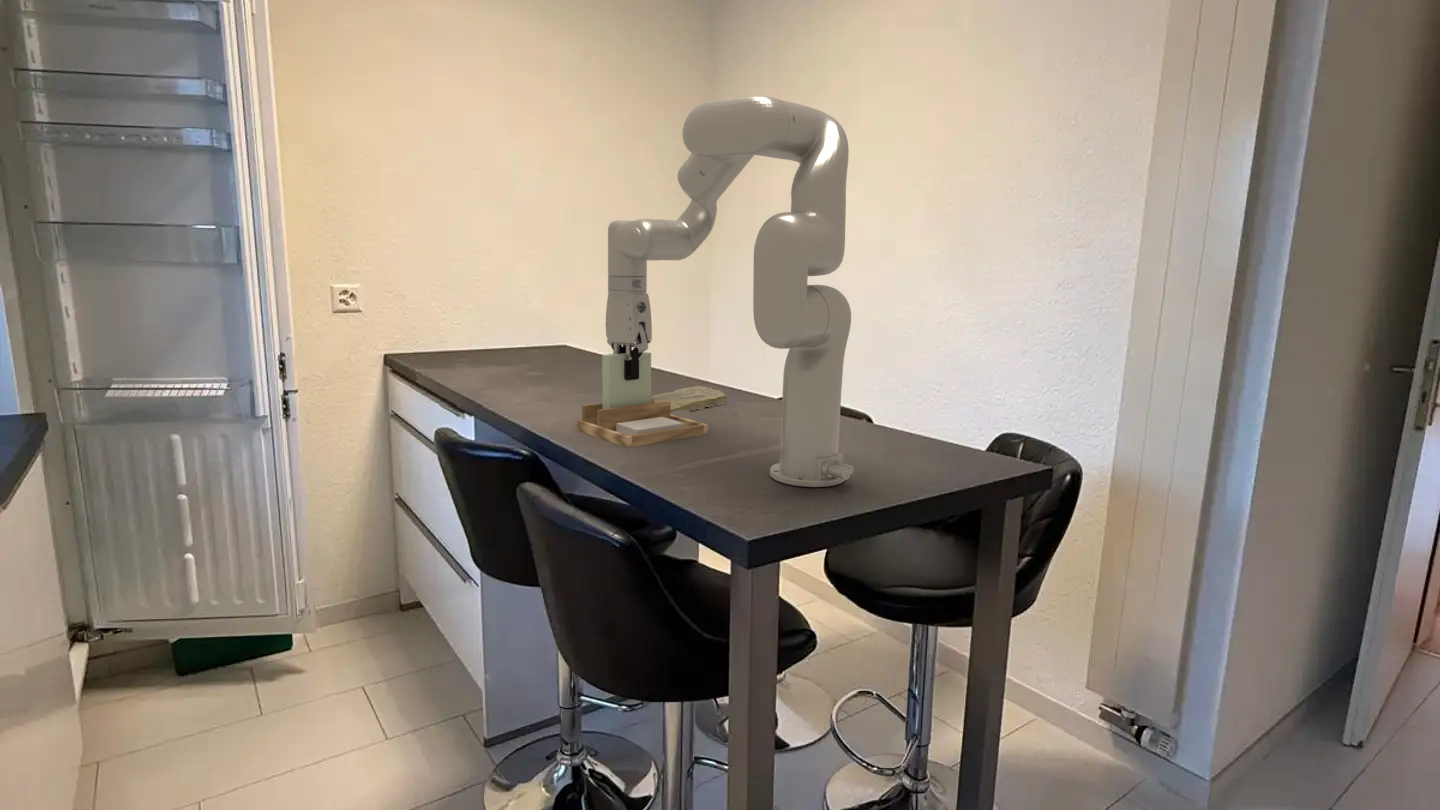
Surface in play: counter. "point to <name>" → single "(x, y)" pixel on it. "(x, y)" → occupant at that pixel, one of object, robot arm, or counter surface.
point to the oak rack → (605, 420)
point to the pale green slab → (625, 382)
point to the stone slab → (691, 398)
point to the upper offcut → (647, 426)
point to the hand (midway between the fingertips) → (627, 377)
